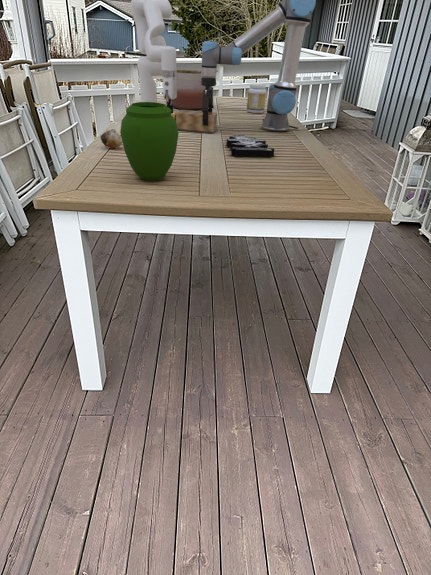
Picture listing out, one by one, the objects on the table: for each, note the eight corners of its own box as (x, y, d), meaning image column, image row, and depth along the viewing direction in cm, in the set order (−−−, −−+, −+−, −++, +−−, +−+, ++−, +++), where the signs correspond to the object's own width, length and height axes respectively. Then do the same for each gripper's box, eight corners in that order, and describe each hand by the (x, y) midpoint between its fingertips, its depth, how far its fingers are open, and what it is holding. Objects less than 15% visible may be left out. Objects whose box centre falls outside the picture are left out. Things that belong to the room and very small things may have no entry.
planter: (201, 104, 296) (202, 70, 284) (212, 110, 276) (213, 73, 264) (166, 104, 289) (166, 69, 277) (175, 110, 268) (175, 73, 257)
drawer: (162, 127, 218) (161, 113, 215) (167, 124, 226) (167, 110, 223) (206, 131, 215) (207, 117, 211) (210, 127, 223) (210, 114, 219)
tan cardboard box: (176, 130, 217) (175, 112, 212) (181, 126, 226) (181, 109, 222) (212, 133, 215) (213, 115, 210) (216, 129, 224) (217, 112, 219)
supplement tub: (247, 109, 285) (249, 83, 276) (264, 111, 283) (267, 84, 274) (245, 112, 274) (248, 84, 265) (264, 114, 273) (266, 86, 264)
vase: (131, 189, 135) (125, 110, 122) (118, 172, 150) (112, 100, 137) (186, 184, 142) (187, 109, 129) (169, 168, 157) (167, 99, 144)
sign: (232, 149, 174) (222, 134, 199) (232, 157, 176) (222, 140, 201) (276, 150, 177) (260, 135, 202) (275, 157, 179) (260, 141, 204)
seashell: (124, 147, 182) (123, 128, 178) (122, 150, 177) (120, 130, 173) (103, 146, 182) (101, 127, 178) (100, 149, 177) (98, 129, 173)
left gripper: (172, 75, 202) (173, 115, 211) (180, 74, 214) (180, 111, 224) (157, 75, 203) (159, 114, 212) (166, 73, 215) (167, 111, 225)
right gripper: (211, 79, 196) (210, 128, 207) (220, 75, 215) (218, 120, 227) (196, 78, 197) (195, 126, 208) (206, 74, 216) (204, 118, 228)
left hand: (170, 113), depth 218 cm, fingers closed
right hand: (207, 123), depth 218 cm, fingers closed on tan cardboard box, 11 cm apart
